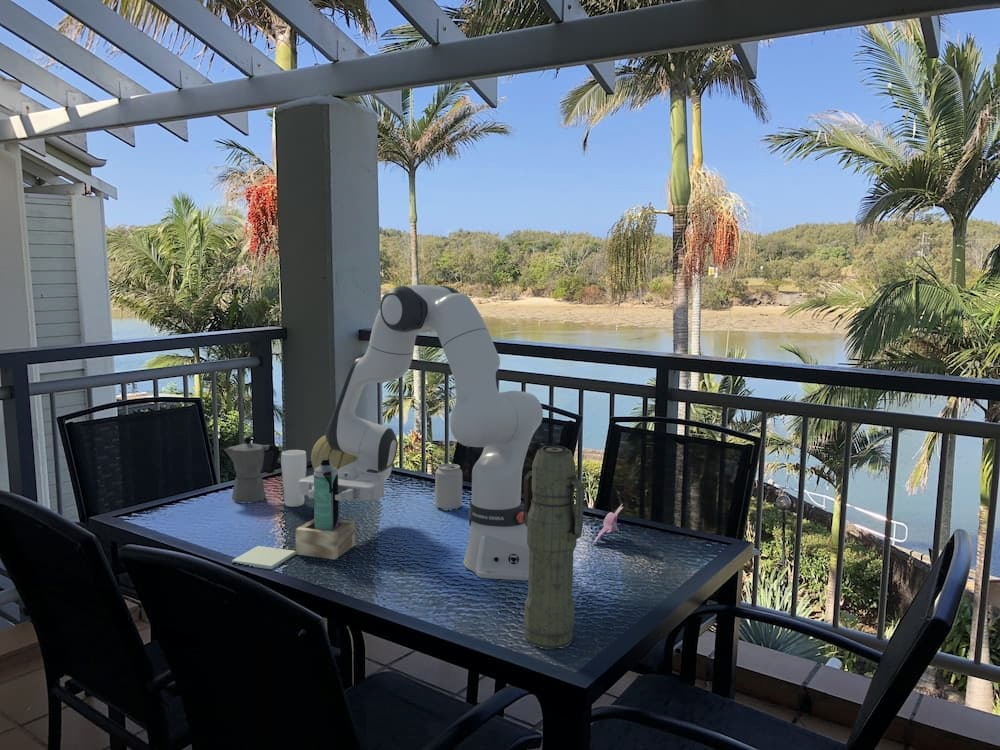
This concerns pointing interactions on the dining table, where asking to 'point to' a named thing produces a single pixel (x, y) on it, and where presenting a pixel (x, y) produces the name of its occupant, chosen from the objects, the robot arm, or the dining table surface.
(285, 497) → the drinking glass
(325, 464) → the spray can
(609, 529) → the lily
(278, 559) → the sage pad
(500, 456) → the robot arm
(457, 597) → the dining table surface
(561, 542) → the olive green cylinder
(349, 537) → the can holder
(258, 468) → the coffeepot
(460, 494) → the can
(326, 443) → the cantaloupe
